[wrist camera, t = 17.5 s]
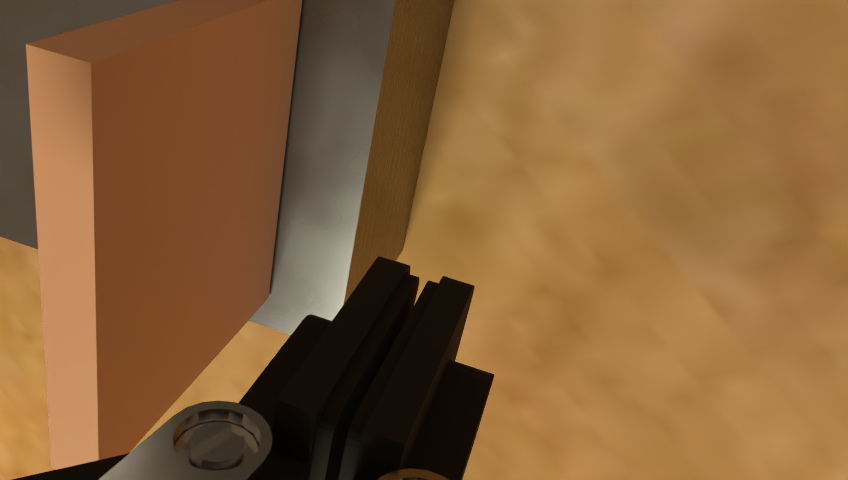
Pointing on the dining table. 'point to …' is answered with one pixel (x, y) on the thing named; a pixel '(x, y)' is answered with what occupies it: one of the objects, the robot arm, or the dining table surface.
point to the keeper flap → (153, 204)
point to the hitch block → (306, 137)
